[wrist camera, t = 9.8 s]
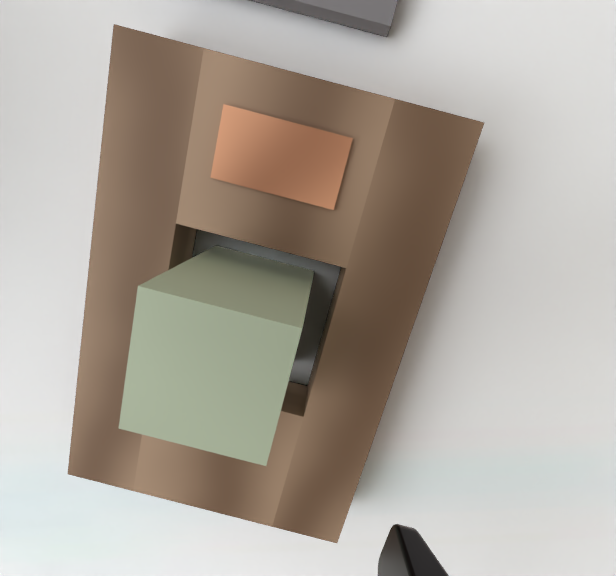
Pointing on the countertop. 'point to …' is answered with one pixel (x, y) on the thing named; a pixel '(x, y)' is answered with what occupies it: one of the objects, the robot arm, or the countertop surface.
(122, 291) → the socket holder
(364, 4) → the bracket
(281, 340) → the pale green block
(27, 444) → the countertop surface
